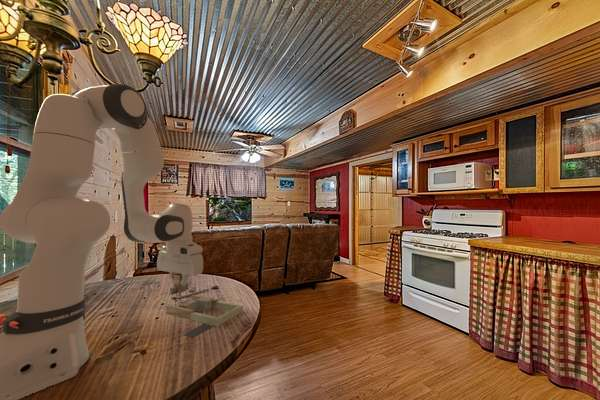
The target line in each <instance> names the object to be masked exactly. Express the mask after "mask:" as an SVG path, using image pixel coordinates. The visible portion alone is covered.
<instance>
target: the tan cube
mask: <svg viewBox="0 0 600 400" xmlns="http://www.w3.org/2000/svg"><path fill="white" fill-rule="evenodd" d="M177 304H178V305H177V306H179V307H183V308H188V309H192V310H194V312H196V311H197V310H196V301H193V300H191V299H185V300H183V301H181V302H178V303H177Z"/></svg>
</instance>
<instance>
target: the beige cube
mask: <svg viewBox="0 0 600 400" xmlns="http://www.w3.org/2000/svg"><path fill="white" fill-rule="evenodd" d="M212 306H213V297H209V296H204V295H203V297H202V298H199V299H197V300H196V311H200V312H206V311H208V310H211V309H213V307H212Z"/></svg>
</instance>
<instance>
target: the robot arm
mask: <svg viewBox="0 0 600 400" xmlns="http://www.w3.org/2000/svg"><path fill="white" fill-rule="evenodd" d="M147 110H148V108H147V106H146V102H145V100H144V98H143V96H142V95H141V93H140V92H139V91H138V90H137V89H136V88H134V87H133V86H130V85H128V84H123V83H112V84H109V85H107V84H106V85H94V86H90V87H88V88H87V87H86V88H84V89H79V90H77V91H74V92H72V93H71V94H66V93H56V94H51V95H49V96H47V97H46V98H45V99H44V101H43V102H42V104H41V107H40V108H39V112H38V114H37V117H36V121H35V124H34V129H33V135H32V136H33V137H32V142H31V148H30V154H29V161H28V167H27V169H26V173H25V175H24V177H23V180H22V181H21V183H20V185H19V188H18V189H17V192H16V194H15V196H14V197H13V199H12V201H11V202H10V203H9V204H8V205H7V206H5V208H4V209H3V210H1V212H0V230H1V231H2V232H3V233H4V234H5V235H7V236H8V237H10V238H12V239H15V240H17V241H20V242H23V243H27V244H35V248H34V252H33V254H32V257H31V258H30V259H31V260H30V261H29V263H28V265H27V266H26V267H25V268H23V270H21V271H20V273H19V275H18V280H17V281H18V282H17V283H18V284H17V298H16V299H17V301H16V302H17V306H16V309H15V310H14V312H12V313H11V314H10V315H6V314H4V313H0V326H2V332H1V333H0V400H21V399H23V398H26V397H27V396H30V394H31V395H32V393H33V394H35V393H37V392H41V391H42V390H45V389H48V388H50V387H52V385H53V386H56V385H58V384H60V383H62V382H64V381H66V380H70V379H72V378H73V377H75V376H77V375H78V373H79V371H80V368H81V367H82V366H83V365H84V364H86V362H87V361H88V360H89V359H90V356H91V353H90V351H89V349H88V348H89V347H88V344H87V341H86V335H85V325H84V324H85V323H84V321H85V320H86V319H85V318H86V298H85V297H84V291H85V290H84V289H85V287H84V286H85V277H86V275H85V274H86V267H87V263H88V260H89V257H90V255H91V252H92V250H93V248H94V246H95V244H96V243H97V242H98V241H99V240H101V238H103V237H104V235H106V234H107V232H108V230H109V228H110V226H111V225H110V224H111V216H110V213H109V210H108V209H107V207H106V206H104V205H103V204H102V203H100V202H98V201H94V200H91V199H87V198H84V197H80V196H79V197H77V195H78V192H79V190H80V189H81V188H82V185H83V184H84V183H86V182H87V181H88V180H89V179H90V178H91V176H92V173H93V172H92V171H93V166H94V157H95V150H96V149H95V148H96V135H97V131H98V130H100V129H112V131H114V133H115V134H116V135H117V138H118V140H119V145H120V146H119V147H120V150H121V151H120V152H121V157H122V162H123V171H122V173H121V176H120V177H121V180H120V181H121V183H120V184H121V193H122V200H123V208H124V221H123V222H124V223H123V232H124V235H125V236H126V238H128V239H129V240H130V241H131V242H134V243H142V242H153V243H156V242H158V243H166V245H163V246H161V247H160V248H159V253H158V255H157V262H156V268H157V271H162V272H168V273H169V277H170V279H171V284H172V285H174V274H177V273H180V274H182V277H183V278H182V280H181V281H180V285H182V286H184V285H186V284H187V283H188V281H187V280H188V278H189V276H193V277H194V276H198V275H201V274H202V273H203V271H204V257H203V254H202V253H203V246H202V245H199V244H198V243H196V242H194V241H193V235H192V230H193V213H192V209H191V207H190V206H189V205H186V204H182V203H181V204H180V203H170V204H169V205H168V207H167V208H166V209H164V210H162V211H160V212H159V213H149V212H148V211H147V210H146V205H145V196H144V189H145V186H146V184H147V183H148V182H149V181H151V180H152V179H154V178H156V177H157V176H158V175H159V174H160V173H161V172H162V170H163V168H164V165H165V163H164V154H163V150H162V145H161V142H160V138H159V136H158V132H157V129H156V127H155V125H154V123H153V121H152V120H151V119H150V118H149V117H148V111H147ZM49 386H50V387H49ZM47 387H48V388H47ZM25 396H26V397H25Z"/></svg>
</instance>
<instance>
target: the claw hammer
mask: <svg viewBox="0 0 600 400" xmlns="http://www.w3.org/2000/svg"><path fill="white" fill-rule="evenodd" d="M217 288H219V285H214V286H212V287H210V288H209V289H213V290H215V289H217ZM209 289H203V290H198V291H196V292H192V293H189V294H185V295H181V296H179V297H176V296H173V297H171V300H173V301H175V302H178V300H180V301H182V300H183V299H185V298H187V297H191V296H192V295H199V293H200V294H202V292H203V293H206V292H205V291H207V292H209V291H208V290H209Z"/></svg>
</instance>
